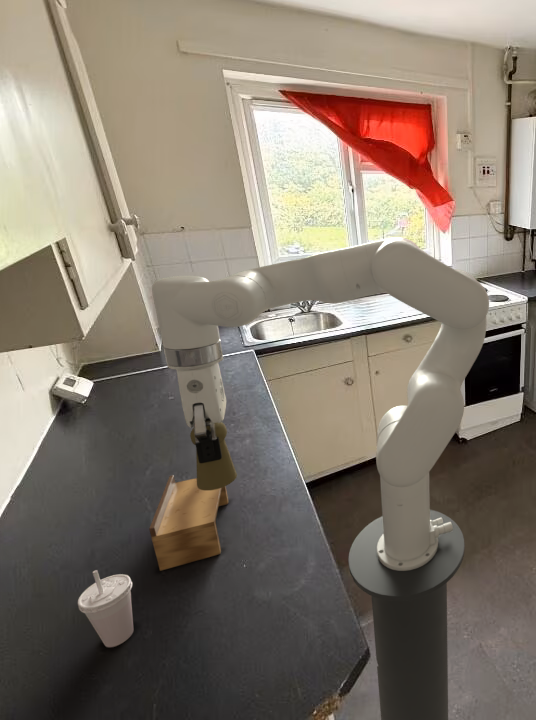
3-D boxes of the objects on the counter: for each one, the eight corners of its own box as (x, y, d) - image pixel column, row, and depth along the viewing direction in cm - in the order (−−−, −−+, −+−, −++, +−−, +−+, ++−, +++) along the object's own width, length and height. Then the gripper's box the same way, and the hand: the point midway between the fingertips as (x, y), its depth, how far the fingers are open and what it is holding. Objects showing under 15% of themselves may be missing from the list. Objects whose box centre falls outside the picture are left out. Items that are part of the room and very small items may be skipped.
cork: (237, 484, 74) (227, 428, 71) (195, 494, 71) (183, 436, 68) (237, 466, 79) (228, 413, 76) (198, 475, 76) (187, 420, 73)
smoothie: (81, 656, 66) (56, 586, 62) (115, 618, 72) (94, 552, 68) (123, 655, 67) (101, 585, 63) (153, 617, 73) (135, 552, 69)
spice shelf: (228, 500, 102) (221, 465, 99) (220, 553, 86) (212, 513, 83) (178, 513, 97) (169, 475, 94) (159, 571, 82) (149, 528, 79)
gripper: (217, 367, 63) (235, 472, 68) (225, 336, 77) (239, 425, 82) (154, 375, 59) (178, 485, 64) (175, 341, 74) (193, 433, 79)
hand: (212, 450), depth 73 cm, fingers closed on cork, 5 cm apart
